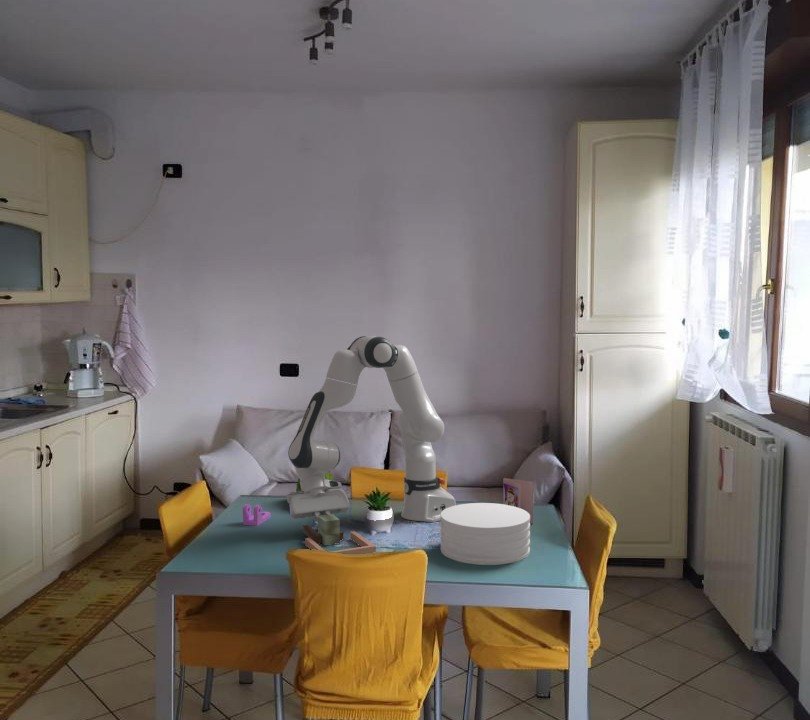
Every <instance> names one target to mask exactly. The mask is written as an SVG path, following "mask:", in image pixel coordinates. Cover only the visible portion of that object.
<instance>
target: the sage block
mask: <svg viewBox="0 0 810 720" xmlns="http://www.w3.org/2000/svg"><path fill="white" fill-rule="evenodd" d="M340 523H341V521H340V518H338V517H337V516H336V515H334V514H330V515H319V516H318V522H317V525H318V527H317V529H318V530H317V531H318V532H317V533H318V534H319V535H321V542H322V543H321V544H323V545H324V546H325V545H328V546H330V545H329V544H335V543H340V544H341V541H340V531H341V527H340V526H341V524H340ZM335 545H336V544H335Z"/></svg>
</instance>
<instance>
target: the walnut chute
mask: <svg viewBox="0 0 810 720" xmlns="http://www.w3.org/2000/svg"><path fill="white" fill-rule="evenodd" d="M302 529H303V530H302V532H303V534H304V535H306V536H307V538H311V539H312V540H313V541H314V542H316V543H317V544H318V545H320V544H319V543H321V535H319V534H318V532H317V531H316V530H314V529H313V528H312V527H311V526H310V525H308V524H303V525H302ZM344 537H345V536H344V532H343V531H342V530H340V540H342V539H344ZM342 541H343V540H342ZM321 544H322V543H321Z"/></svg>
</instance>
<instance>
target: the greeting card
mask: <svg viewBox="0 0 810 720" xmlns="http://www.w3.org/2000/svg"><path fill="white" fill-rule="evenodd" d="M502 482H503V483H502V484H503V485H502V486H503V487H502V489H503V491H502V492H503V494H502V495H503V497H502V498H503V499H502V500H503V501H502V502H503V503H502V504H504V505H510V506H514V507H518V508H521V509H523V510H525V511H527V512H528V513H529V514H530V525H531V524H532V525H533V524H534V481H529V480H522V479H515V478H514V479H513V478H505V477H503V481H502Z"/></svg>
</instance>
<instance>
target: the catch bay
mask: <svg viewBox="0 0 810 720" xmlns="http://www.w3.org/2000/svg"><path fill="white" fill-rule="evenodd" d="M349 533H350V534H349V535H350V538H351V539H352V540H354V541H355V542H356V543H357V544H356V543H355V542H354V541H353V542H354V543H355V544H356V545H358V544H359V545H360V546H361V547H360V546H359V545H358V546H359V547H350V548H345V549H339V550H332V551H330V552H335V553H342V554H366V553H373V552H376V553H377V550H376V548H377V547H376V545H374V544H373V543H372V542H371V541H369V540H368V539H366V538H365V537H364V536H362V535H361V534H360V533H358V532H356V530H353V531H350V532H349ZM350 538H349V539H350ZM304 539H305V541H304V543H305V547H306V548H307V547H308V548H309V549H308V548H307V549H308V550H310V549H316V550H323V551H326V550H325V549H324V548H322V546H320V544H317V543H316V542H314V541H313V540H312V539H311V538H309V537H306V538H304ZM351 539H350V540H351ZM352 540H351V541H352Z"/></svg>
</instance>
